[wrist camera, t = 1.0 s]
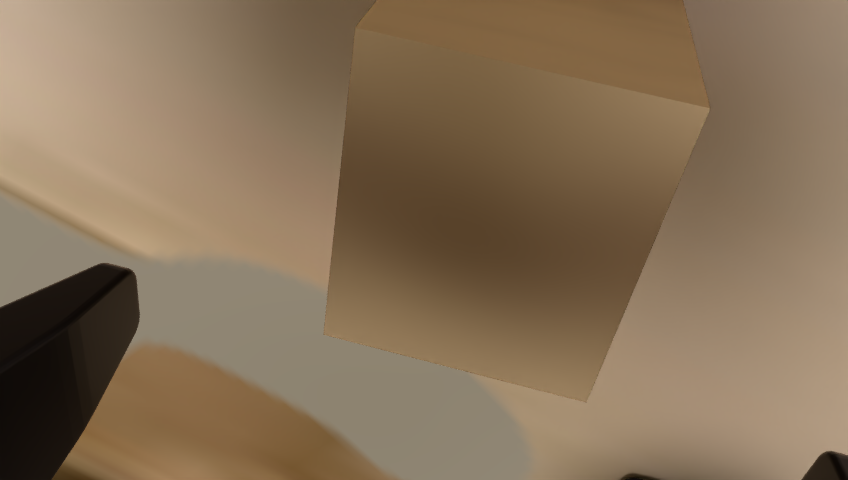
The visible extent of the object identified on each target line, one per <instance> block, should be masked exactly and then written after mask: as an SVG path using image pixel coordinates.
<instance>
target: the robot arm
mask: <svg viewBox="0 0 848 480" xmlns="http://www.w3.org/2000/svg"><path fill="white" fill-rule="evenodd" d="M139 315H140V312H139V301H138V291H137V280H136V275H135V273H134V272H133V271H132V270H131V269H129V268H125V267H121V266H117V265H113V264H109V263H100V264H98V265H95V266H93V267H91V268H88V269H86V270H84V271H81V272H79V273H77V274H75V275H72V276H70V277H68V278H65V279H63V280H61V281H59V282H57V283H54V284H52V285H50V286H48V287H45V288H43V289H41V290H38V291H36V292H34V293H31V294H29V295H27V296H25V297H23V298H21V299H18V300H16V301H14V302H11V303H9V304H7V305H4V306H2V307H0V480H51V479H52V478H53V476H54V475H55V473H56V472H57V470H58V469H59V467H60V466H61V464H62V463H63V461H64V460H65V459H66V457H67V456H68V454H69V453H70V451H71V450H72V448H73V447H74V445H75V444H76V442H77V440H78V439H79V437H80V436H81V434H82V433H83V431H84V429H85V428H86V426H87V424H88V422H89V421H90V419H91V417H92V415H93V413H94V411H95V410H96V408H97V406H98V404H99V402H100V400H101V398H102V396H103V394H104V392H105V390H106V388H107V387H108V385H109V383H110V381H111V379H112V377H113V375H114V373H115V371H116V369H117V367H118V365H119V364H120V362H121V360H122V358H123V356H124V354H125V352H126V350H127V348H128V346H129V344H130V342H131V340H132V339H133V337H134V335H135V333H136V330H137V327H138V324H139V318H140V316H139ZM626 480H643V479H639V478H629V479H626ZM802 480H848V455H845V454H841V453H837V452H833V451H826V452H824V453H822V454H821V455H820V456H819V457H818V458H817V460H816V461H815V462H814V464H813V465H812V466H811V468H810V469H809V470H808V472H807V473H806V474H805V476H804V477H803V478H802Z"/></svg>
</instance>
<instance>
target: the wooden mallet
mask: <svg viewBox="0 0 848 480" xmlns="http://www.w3.org/2000/svg"><path fill="white" fill-rule="evenodd" d="M709 111H710V105H709V101H708V97H707V93H706V89H705V85H704V81H703V77H702V74H701V70H700V66H699V62H698V58H697V54H696V50H695V46H694V42H693V38H692V34H691V30H690V27H689V23H688V19H687V15H686V11H685V7H684V3H683V0H377V1H376V2H375V3H374V4H373V6H372V7H371V8H370V9H369V11H368V12H367V13H366V14H365V16H364V17H363V18H362V19H361V21H360V22H359V23H358V24H357V26H356V27H355V33H354V42H353V52H352V62H351V72H350V81H349V91H348V101H347V111H346V120H345V130H344V140H343V150H342V159H341V169H340V179H339V189H338V198H337V208H336V218H335V228H334V237H333V247H332V257H331V267H330V276H329V286H328V296H327V305H326V315H325V325H324V335H327V336H331V337H335V338H339V339H343V340H346V341H351V342H354V343H358V344H362V345H366V346H370V347H374V348H378V349H381V350H385V351H389V352H393V353H397V354H401V355H404V356H409V357H412V358H416V359H420V360H424V361H428V362H432V363H435V364H440V365H443V366H447V367H451V368H455V369H459V370H463V371H466V372H470V373H474V374H478V375H482V376H486V377H490V378H494V379H497V380H501V381H505V382H509V383H513V384H517V385H521V386H525V387H528V388H532V389H536V390H540V391H544V392H548V393H552V394H556V395H559V396H563V397H567V398H571V399H575V400H579V401H583V402H587V400H588V397H589V395H590V392H591V390H592V388H593V385H594V383H595V381H596V378H597V376H598V374H599V371H600V369H601V366H602V364H603V362H604V359H605V357H606V355H607V352H608V350H609V348H610V345H611V343H612V340H613V338H614V336H615V333H616V331H617V329H618V326H619V324H620V321H621V319H622V317H623V314H624V312H625V310H626V307H627V305H628V303H629V300H630V298H631V295H632V293H633V291H634V288H635V286H636V284H637V281H638V279H639V276H640V274H641V272H642V269H643V267H644V265H645V262H646V260H647V258H648V255H649V253H650V250H651V248H652V246H653V243H654V241H655V239H656V236H657V234H658V232H659V229H660V227H661V224H662V222H663V220H664V217H665V215H666V213H667V210H668V208H669V205H670V203H671V201H672V198H673V196H674V194H675V191H676V189H677V187H678V184H679V182H680V179H681V177H682V175H683V172H684V170H685V168H686V165H687V163H688V160H689V158H690V156H691V153H692V151H693V149H694V146H695V144H696V142H697V139H698V137H699V134H700V132H701V130H702V127H703V125H704V123H705V120H706V118H707V115H708V113H709Z"/></svg>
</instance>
